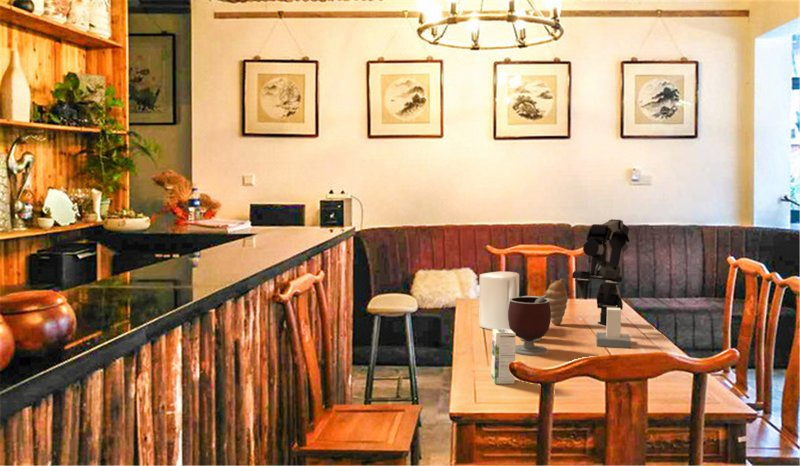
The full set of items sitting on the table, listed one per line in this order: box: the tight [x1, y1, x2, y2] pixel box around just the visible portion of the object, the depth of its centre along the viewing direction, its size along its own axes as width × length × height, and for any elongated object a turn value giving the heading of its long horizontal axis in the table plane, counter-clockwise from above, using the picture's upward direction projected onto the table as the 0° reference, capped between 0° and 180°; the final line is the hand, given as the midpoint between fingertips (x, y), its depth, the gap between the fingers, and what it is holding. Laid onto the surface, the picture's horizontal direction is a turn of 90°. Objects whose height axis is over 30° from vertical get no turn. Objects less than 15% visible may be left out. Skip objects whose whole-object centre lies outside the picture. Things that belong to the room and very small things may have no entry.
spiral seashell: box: [544, 278, 569, 326], centre depth 282 cm, size 9×8×18 cm
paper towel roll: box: [478, 271, 520, 331], centre depth 274 cm, size 15×14×22 cm
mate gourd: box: [508, 294, 551, 357], centre depth 239 cm, size 16×14×20 cm
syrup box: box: [490, 329, 517, 385], centre depth 205 cm, size 6×6×14 cm
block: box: [605, 307, 622, 338], centre depth 251 cm, size 4×4×10 cm
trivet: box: [595, 331, 632, 349], centre depth 251 cm, size 11×11×3 cm
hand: (595, 300), depth 268 cm, fingers open, 9 cm apart
